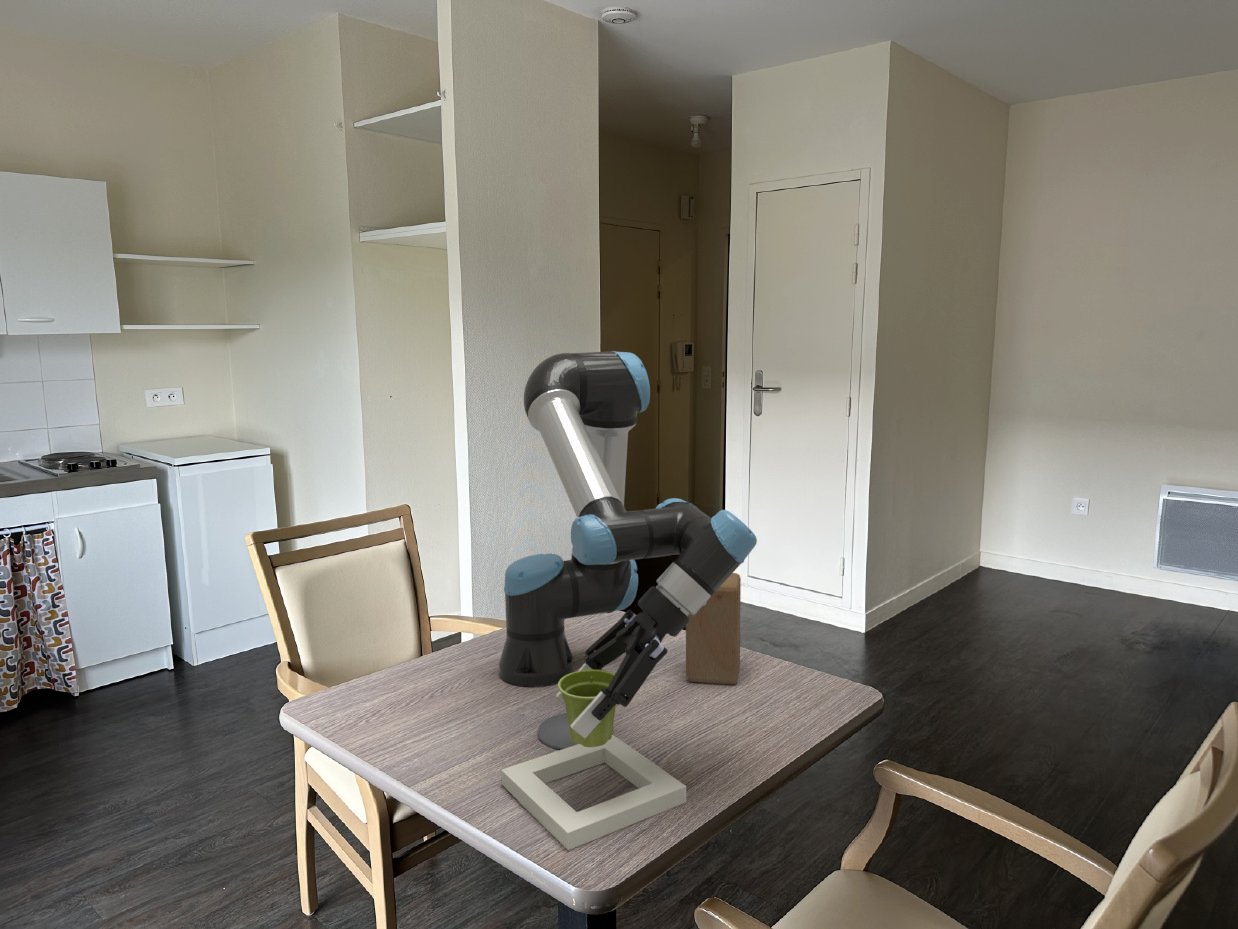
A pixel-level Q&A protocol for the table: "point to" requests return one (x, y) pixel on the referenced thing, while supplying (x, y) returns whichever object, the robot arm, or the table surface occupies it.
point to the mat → (556, 732)
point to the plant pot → (586, 703)
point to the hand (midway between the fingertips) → (569, 716)
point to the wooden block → (715, 636)
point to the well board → (602, 818)
